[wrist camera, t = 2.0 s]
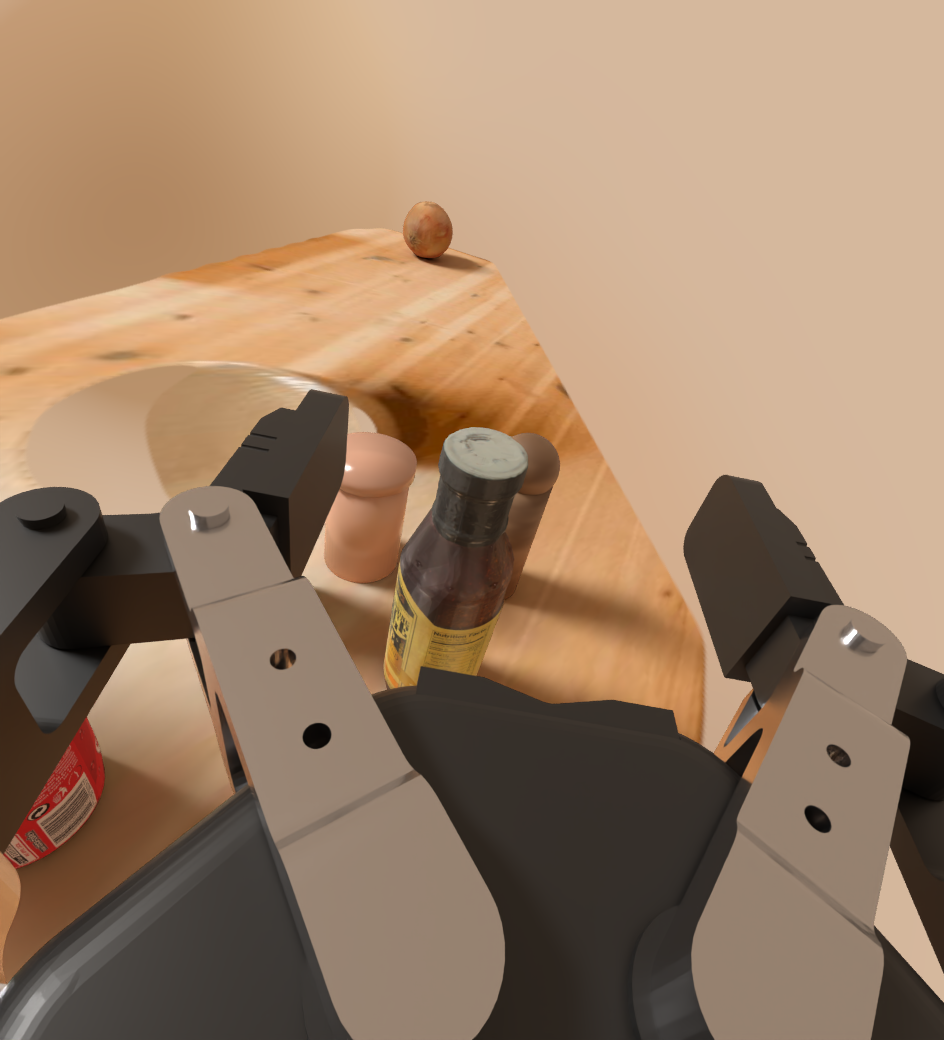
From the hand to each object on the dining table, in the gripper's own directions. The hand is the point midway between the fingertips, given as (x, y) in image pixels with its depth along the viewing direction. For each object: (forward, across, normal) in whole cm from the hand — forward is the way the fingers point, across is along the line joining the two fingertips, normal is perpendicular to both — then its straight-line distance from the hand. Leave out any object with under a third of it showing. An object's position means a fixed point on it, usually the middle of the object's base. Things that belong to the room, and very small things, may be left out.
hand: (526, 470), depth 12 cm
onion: (+110, +14, +26) cm, 114 cm away
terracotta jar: (+23, +7, +26) cm, 36 cm away
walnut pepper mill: (+23, -4, +26) cm, 35 cm away
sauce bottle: (+12, 0, +27) cm, 29 cm away
